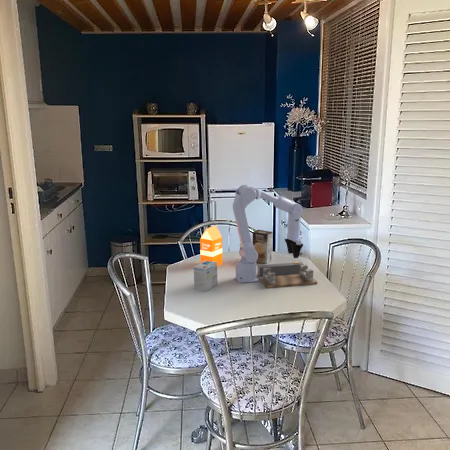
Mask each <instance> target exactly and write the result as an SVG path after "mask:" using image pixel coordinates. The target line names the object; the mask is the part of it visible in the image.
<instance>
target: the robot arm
mask: <svg viewBox="0 0 450 450" xmlns="http://www.w3.org/2000/svg"><path fill="white" fill-rule="evenodd" d="M260 199H261V200H264V201H267V202H269V203H272V204H273V205H274V207H275V208H276V209H279V210H281V211H283V212H285V213H288V219H287V220H288V221H287V234H286V238H284V241H285V243H286V246H287V254H291V255H292V256H293V259H299V256H300V253H301V251H302V248H303V247H304V244H303V243H302V240H301V239H303V236H302V235H301V219H302V218H301V217H302V214H303V213H304V209H303V206H302V204H300V203H298V202H295V200H293V199H289V198H287V196H286V195H279V196H275V195H272V194H270V193H268V192H266V191H264V190H262V189H260V188H257V187H254V186H248V185H247V184H242V185H240V186H239V187H238V188H237V190H235V197H234V199H233V201H232V202H233V203H232V210H233V214H234V219H235V224H236V228H237V233H238V237H239V242H240V243H239V250H238V251H239V252H238V253H239V256H240V257H241V258H240V261H236V262H235V279H236V281H237V282H238V283H239V284H241V283H253V282H259V281H260V280H259V278H258V277H257V262H256V260H257V259H258V253H257V252H256V251H255V248H254V245H253V243H252V241H253V240H252V235H251V232H250V227H249V224H248V219H247V215H246V208H247V207H248V205H250V204H251V203H252V202H254V201H255V200H260Z"/></svg>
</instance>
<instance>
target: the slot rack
mask: <svg viewBox="0 0 450 450" xmlns="http://www.w3.org/2000/svg"><path fill="white" fill-rule="evenodd" d="M308 268H309V266H308V265H307V264H304V265H300V274H292V275H279V276H275V273H274V272H271V268H270V267H269V268H263V277H259V276H258V277H259V278H258V280H259V281H260V282H261V283H262V285H263V286H264V287H265V288H266V289H273V288H285V287H296V286H297V287H298V286H308V285H318V280H316V279H315V278H314V269H311V268H310V269H308Z"/></svg>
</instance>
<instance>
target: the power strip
mask: <svg viewBox="0 0 450 450" xmlns="http://www.w3.org/2000/svg"><path fill="white" fill-rule="evenodd" d="M300 265H305V264H304V263H303V262H301V261H299V262H298V261H294V262H284V263H273V264H269V263H267V264H260V265H257V276H258V277H263V268H269V267H270V268H271V272H274V273H275V276H283V275H295V274H300Z"/></svg>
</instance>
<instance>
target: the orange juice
mask: <svg viewBox="0 0 450 450" xmlns="http://www.w3.org/2000/svg"><path fill="white" fill-rule="evenodd" d="M199 244H200V245H199V247H200V250H199V252H200V254H199V255H200V263H202V262H203V261H213V262H217V267H219V266H221V265H223V236H222V234H221V232H220V230H219V228H218V227H217V225H214V226H210V227H207V228H205V230H204V232H203V233H202V235H201V237H200V238H199Z"/></svg>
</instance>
